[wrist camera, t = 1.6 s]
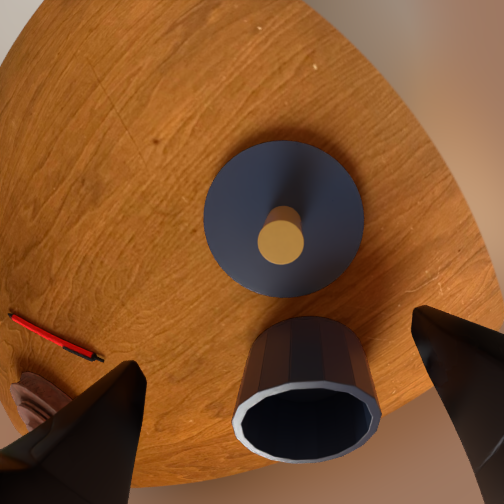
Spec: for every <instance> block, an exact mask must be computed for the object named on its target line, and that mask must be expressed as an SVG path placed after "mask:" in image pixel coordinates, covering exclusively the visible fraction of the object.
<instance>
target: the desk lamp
mask: <svg viewBox="0 0 504 504" xmlns="http://www.w3.org/2000/svg"><path fill="white" fill-rule="evenodd" d="M10 392H11V395H12V398H13V400H14V401H15V403H16V405H17V410H18V413H19V415H20V417H21V418H22V420H23V421H24V423H25V424H26V425H27V426H26V427H27V429H28V431H29V432H30V431H32V430H33V429H35V428H36V427H37V426H39V425H40V424H42V423H43V422H44V421H46V420H47V419H48V418H50V417H51V416H54V414H55V413H56V412H58V411H59V410H60V409H62V408H63V407H64V406H66V405H67V404H68V403H70V402H71V401H72V399H71V398H70V397H69V396H67V395H66V394H65V393H64V392H62V391H61V390H60V389H58V388H57V387H56V386H55V385H53V384H52V383H51V382H49V381H47V380H46V379H44V378H43V377H41V376H39V375H37V374H34V373H31V372H25V373H22V375H21V378H20V382H17V383H12V384H11V387H10Z"/></svg>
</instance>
